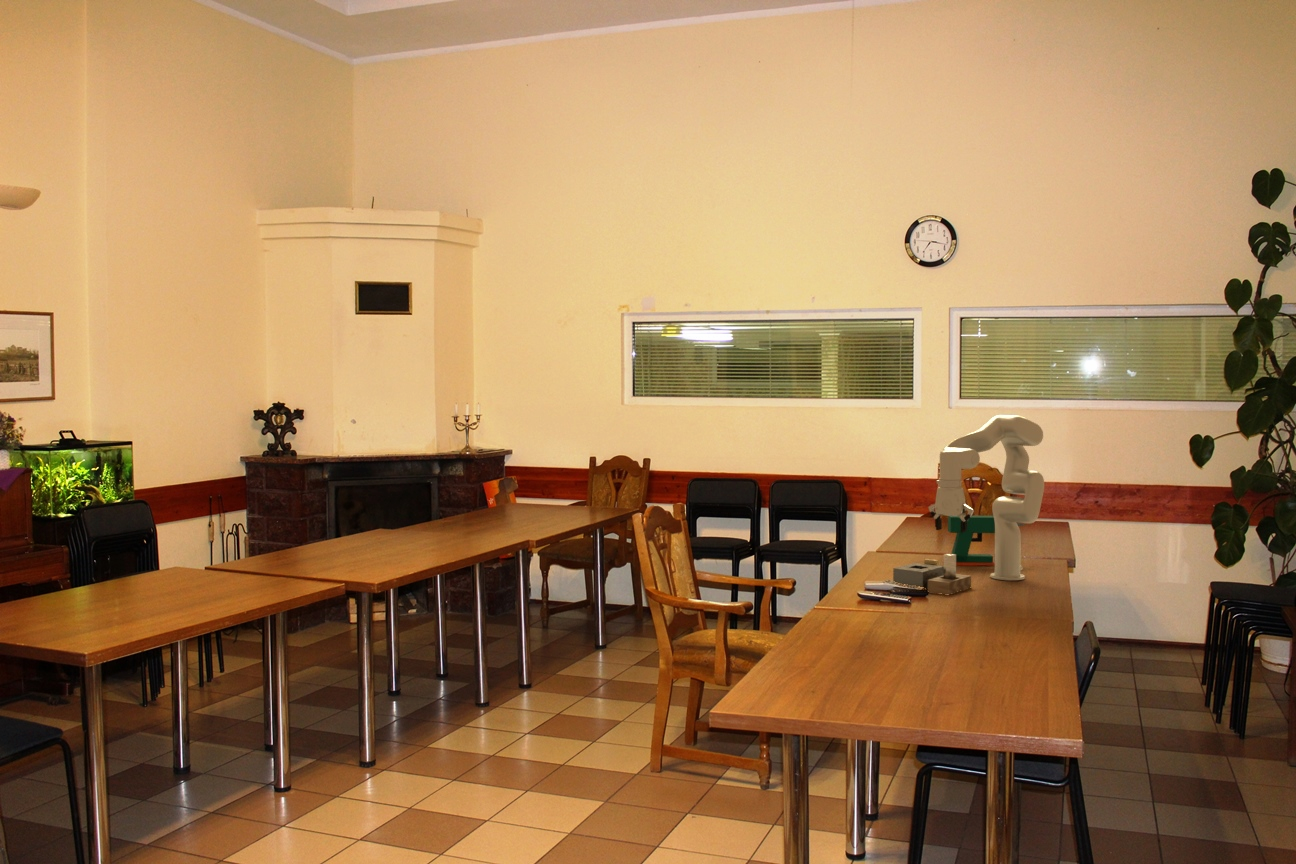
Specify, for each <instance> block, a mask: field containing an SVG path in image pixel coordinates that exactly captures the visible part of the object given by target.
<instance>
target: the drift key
mask: <svg viewBox="0 0 1296 864" xmlns="http://www.w3.org/2000/svg"><path fill="white" fill-rule="evenodd" d="M923 561H924V563H923V564H929V565H937V566H939V560H938V559H931V558H924V560H923Z"/></svg>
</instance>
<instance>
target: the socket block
mask: <svg viewBox="0 0 1296 864" xmlns="http://www.w3.org/2000/svg"><path fill="white" fill-rule="evenodd" d="M892 574H893V575H892V576H893V577H892V581H895V582H898V583H902V584H908V585H916V586H920V587H924V588H926V589H928V580H930V579H933V578H937V577H940V576H943V574H944V565H938V566H937V565H929V564H924V563H919V562H912V563H908V564H904V565H900V566H895V567H894V568H893V571H892Z"/></svg>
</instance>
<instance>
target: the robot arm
mask: <svg viewBox="0 0 1296 864" xmlns="http://www.w3.org/2000/svg"><path fill="white" fill-rule="evenodd" d="M1043 439H1044V431H1043V429H1042V427H1041V426H1040V425H1039V424H1038V423H1036V422H1034V421H1032V420H1029V419H1028V418H1026V417H1023V416H1021V415H1011V414H1010V415H1009V414H1008V415H1007V414H999V415H995V416H993V417H991V418H990V419H989V420H987V421H986V422H985V423H984V424H983V425H982V426H980V427H979V428H978V429H977V430H976V431H974V432H973V431H972V432H971V433H968V434H965V435H963V436H960V437H958V438H955V439H953V440H952V441H950V443H948V444H947V445H946V446H944V448H943V449H942V450H941V451H940V453H939V479H938V480H936V484H937V485H939V486H938V487H937V489H936V495H935V503H933V504H931V505H929V506H928V507H927V508H928V510H929V512H930V515H931V516H932V517H933V519H934V520H935V521H934V525H935V531H939V530H942V528H943V525H942V523H943V519H942V518H941V517H942V516H947V517H948V516H959V517H960V519H961V520H962V521H961V532H962V533H963V532H966V530H967V521H968V519H969V518H970V517H971V516H973V515H974V512H975V510H974V508H972V507H970V506H969V505H967V504H966V497H965V492H964V488H963V487H962V469H963V470H970V469H971V470H972V469H974V468H976V467H977V466H978V465H979V463H980V462H981V459H980V457H981V456H980V454H979V453H982V452H986V451H990V450H991V449H993V448H994V447H995V446H996V445H997V444H998V443H1000V442H1001V444H1002V446H1003V448H1004V451H1005V455H1006V456H1005V457H1006V458H1005V464H1004V468H1003V469H1004V470H1003V473H1002V479H1001V488H1002V490H1003V492H1004V493H1008V494H1011V495H1020V496H1021V495H1023V496H1024V497H1020V496H1019V497H1018V496H1008V495H1006V496H1005V495H1004V496H1003V495H1002V496H1000V497H999V496H998V497H997V498H996V499H995V500H994V501H993V503H992V507H991V508H992V509H991V510H992V516H994V523H995V533H994V570H993V571H994V572H991V573H990V574H989V575H990V578H992V579H994V580H1000V581H1001V580H1002V581H1023V580H1025V575H1024V574H1021V571H1022V570H1023V569H1024V567H1023V565H1021V560H1022V559H1021V558H1022V557H1021V556H1022V554H1021V553H1022V552H1021V551H1022V550H1021V544H1022V543H1021V542H1022V532H1021V529H1020V526H1018V525H1017V523H1021V524H1033V523H1035V522H1036V521H1037V520H1038V517H1039V516H1040V515H1039V514H1040V513H1041V512H1040V511H1041V507H1042V501H1043V498H1044V496H1043V495H1044V492H1045V479H1044V475H1043V474H1042V473H1041V472H1039V471H1036V470H1029V464H1030V457H1029V454H1028V452H1027V450H1026V448H1025V447H1035V446H1039V445H1040V443H1042V441H1043ZM966 511H967V512H968V513H967V514H966Z"/></svg>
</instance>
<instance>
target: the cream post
mask: <svg viewBox="0 0 1296 864" xmlns="http://www.w3.org/2000/svg"><path fill="white" fill-rule="evenodd" d="M943 566H944V574H943V579H950V580H955V579H956V574H957V565H956V555H955V554H951V553H944V554H943Z"/></svg>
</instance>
